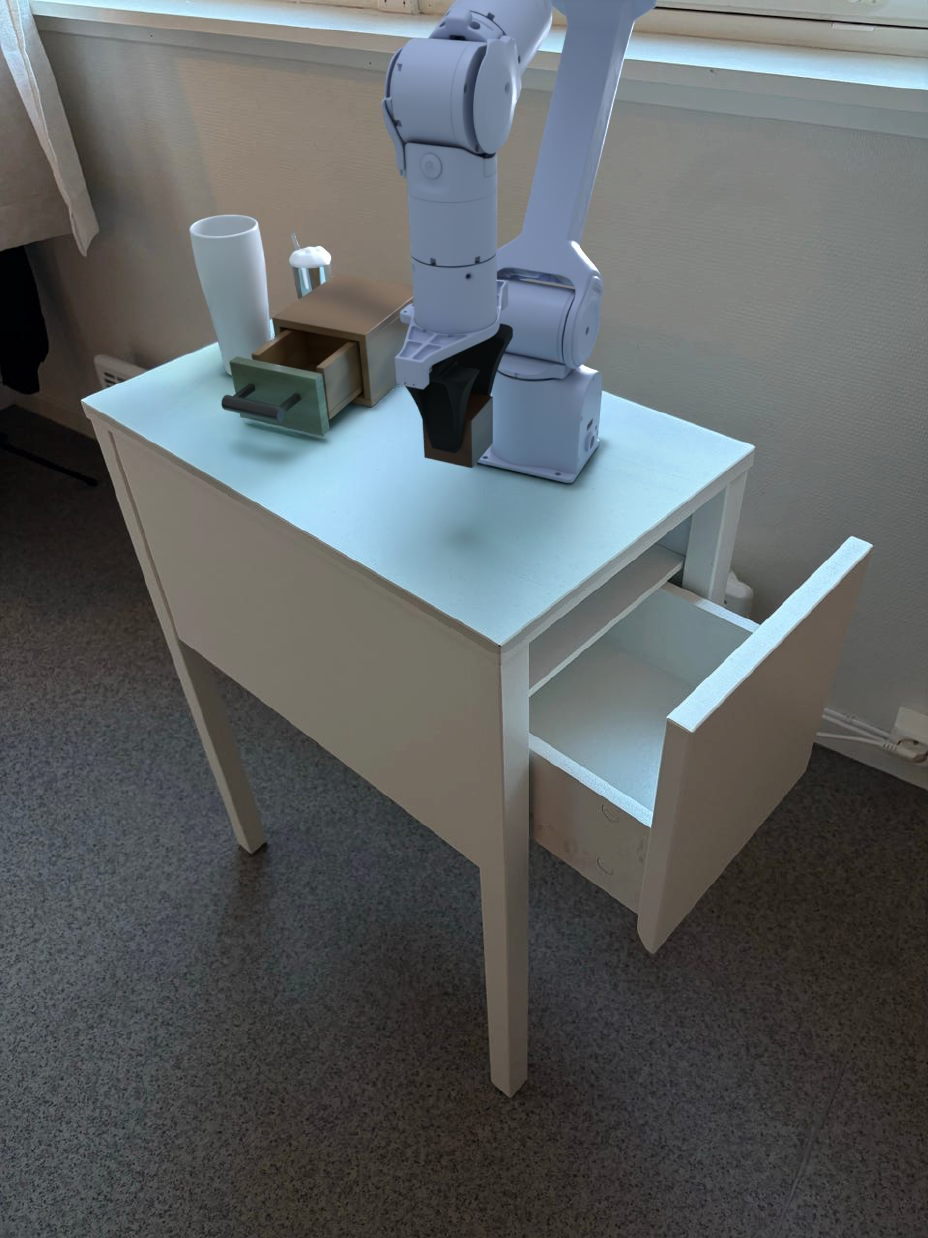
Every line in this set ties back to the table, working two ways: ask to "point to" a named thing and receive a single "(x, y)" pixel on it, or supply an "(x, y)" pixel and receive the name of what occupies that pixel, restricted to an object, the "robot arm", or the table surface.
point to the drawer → (296, 381)
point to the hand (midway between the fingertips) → (458, 433)
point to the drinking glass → (233, 282)
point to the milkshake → (309, 267)
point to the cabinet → (356, 324)
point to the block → (468, 434)
